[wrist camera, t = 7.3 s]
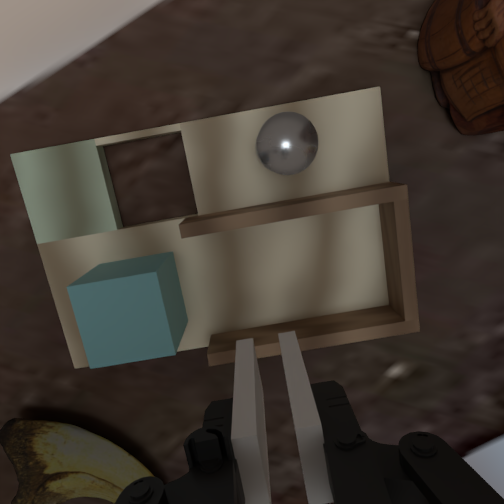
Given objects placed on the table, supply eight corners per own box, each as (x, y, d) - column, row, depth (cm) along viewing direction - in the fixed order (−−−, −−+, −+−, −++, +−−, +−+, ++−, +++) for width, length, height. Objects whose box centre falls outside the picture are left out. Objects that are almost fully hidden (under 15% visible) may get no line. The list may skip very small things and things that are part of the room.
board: (81, 360, 36) (74, 368, 34) (20, 154, 32) (9, 154, 30) (395, 307, 35) (402, 313, 33) (373, 89, 31) (380, 86, 29)
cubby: (213, 345, 34) (209, 366, 30) (185, 217, 31) (178, 224, 28) (402, 313, 33) (419, 331, 30) (389, 181, 31) (406, 184, 28)
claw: (-14, 451, 37) (-41, 481, 34) (47, 381, 35) (24, 406, 32) (150, 562, 41) (140, 600, 37) (216, 505, 38) (212, 539, 35)
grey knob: (259, 175, 31) (262, 180, 24) (251, 127, 30) (252, 117, 23) (305, 167, 31) (322, 169, 24) (298, 118, 30) (313, 106, 23)
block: (117, 332, 33) (90, 368, 28) (99, 263, 32) (66, 286, 26) (188, 320, 33) (175, 354, 27) (172, 251, 32) (156, 271, 26)
